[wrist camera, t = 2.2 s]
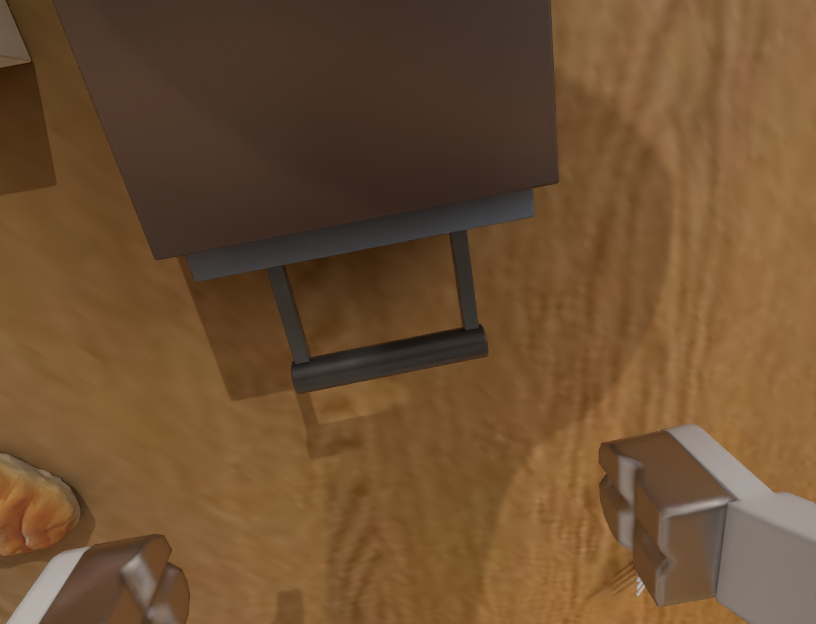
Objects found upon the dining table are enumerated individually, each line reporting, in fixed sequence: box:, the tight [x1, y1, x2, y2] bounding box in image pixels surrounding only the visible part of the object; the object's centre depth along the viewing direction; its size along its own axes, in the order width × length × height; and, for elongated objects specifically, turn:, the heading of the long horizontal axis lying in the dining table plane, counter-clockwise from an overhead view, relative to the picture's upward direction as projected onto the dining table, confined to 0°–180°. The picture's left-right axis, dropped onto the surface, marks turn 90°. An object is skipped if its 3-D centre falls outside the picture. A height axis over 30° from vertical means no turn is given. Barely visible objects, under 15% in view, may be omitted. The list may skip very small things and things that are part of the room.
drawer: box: [185, 188, 535, 394], centre depth 18 cm, size 20×12×6 cm, turn 10°
